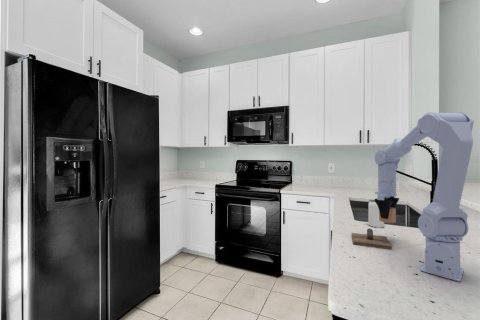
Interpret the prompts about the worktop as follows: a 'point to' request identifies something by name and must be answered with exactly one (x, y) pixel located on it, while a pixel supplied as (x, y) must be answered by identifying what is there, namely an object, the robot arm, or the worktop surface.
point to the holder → (371, 240)
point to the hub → (391, 216)
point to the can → (374, 215)
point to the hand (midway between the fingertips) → (387, 217)
